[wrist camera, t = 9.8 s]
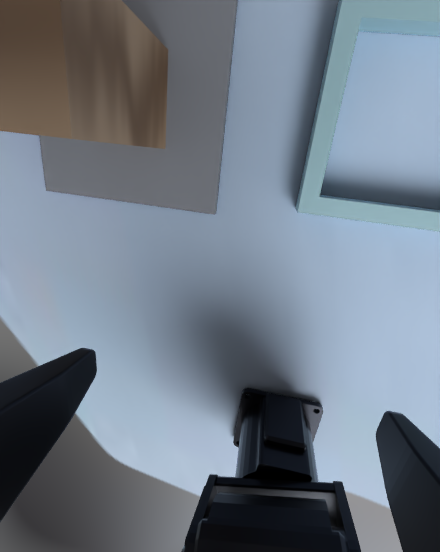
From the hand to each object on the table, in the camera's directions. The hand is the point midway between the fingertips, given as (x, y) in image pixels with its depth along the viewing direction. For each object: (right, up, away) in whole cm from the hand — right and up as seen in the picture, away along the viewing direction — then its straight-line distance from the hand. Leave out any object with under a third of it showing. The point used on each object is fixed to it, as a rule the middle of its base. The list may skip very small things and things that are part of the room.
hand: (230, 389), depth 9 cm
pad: (-6, +14, +9) cm, 17 cm away
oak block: (-6, +14, +8) cm, 17 cm away
